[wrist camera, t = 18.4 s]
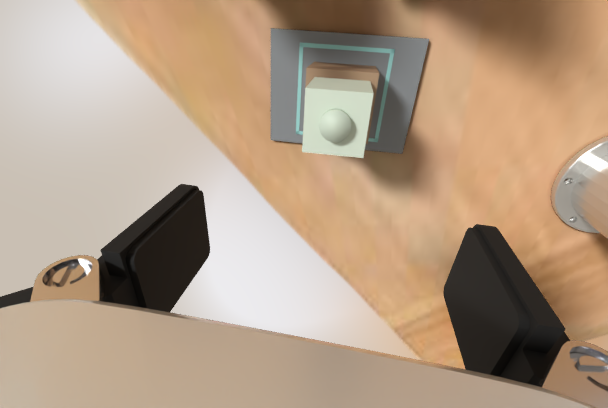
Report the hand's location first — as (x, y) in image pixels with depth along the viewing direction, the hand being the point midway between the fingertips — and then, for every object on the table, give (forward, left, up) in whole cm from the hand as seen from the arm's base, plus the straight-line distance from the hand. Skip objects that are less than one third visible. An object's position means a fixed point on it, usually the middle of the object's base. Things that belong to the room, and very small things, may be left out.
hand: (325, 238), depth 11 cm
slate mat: (+1, 0, -27) cm, 27 cm away
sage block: (0, 0, -21) cm, 21 cm away
